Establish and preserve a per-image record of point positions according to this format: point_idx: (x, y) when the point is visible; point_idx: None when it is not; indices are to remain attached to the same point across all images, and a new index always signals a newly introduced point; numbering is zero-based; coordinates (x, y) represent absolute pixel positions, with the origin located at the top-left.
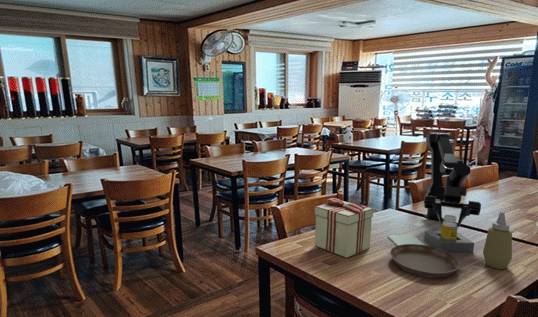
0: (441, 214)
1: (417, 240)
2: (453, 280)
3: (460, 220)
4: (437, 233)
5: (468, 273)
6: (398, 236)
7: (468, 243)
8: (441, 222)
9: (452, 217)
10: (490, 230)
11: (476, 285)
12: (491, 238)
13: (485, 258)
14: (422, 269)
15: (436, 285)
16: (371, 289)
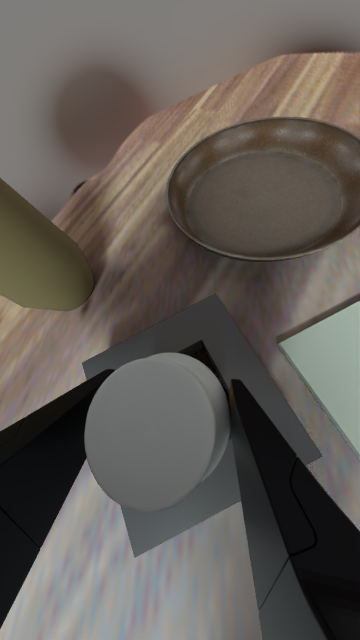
0: (256, 449)
1: (323, 388)
2: None
3: (69, 394)
4: None
5: (149, 215)
6: None
7: (107, 350)
8: (233, 380)
9: (128, 396)
10: None
11: (143, 176)
12: (14, 190)
13: (87, 265)
14: (254, 175)
15: None
16: (331, 76)
